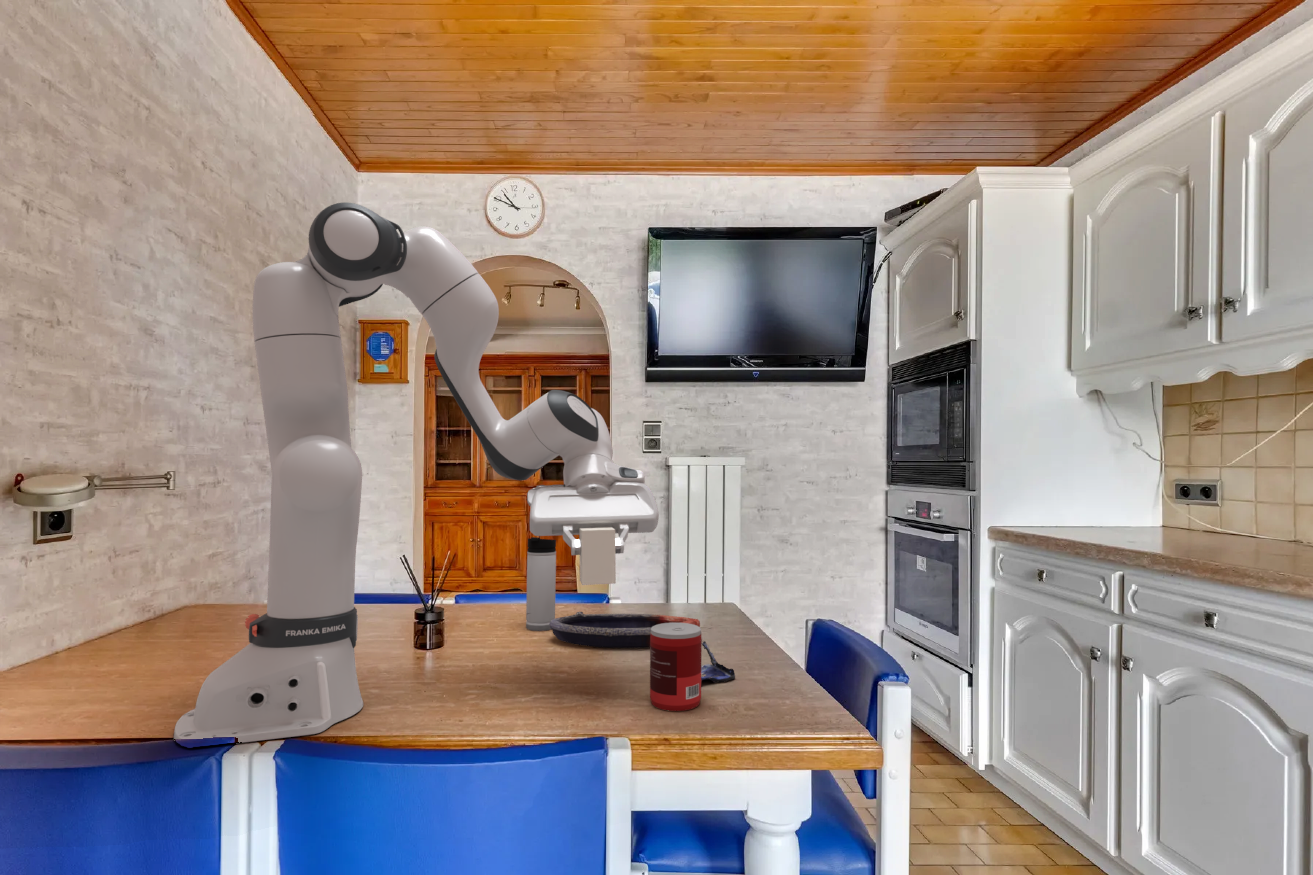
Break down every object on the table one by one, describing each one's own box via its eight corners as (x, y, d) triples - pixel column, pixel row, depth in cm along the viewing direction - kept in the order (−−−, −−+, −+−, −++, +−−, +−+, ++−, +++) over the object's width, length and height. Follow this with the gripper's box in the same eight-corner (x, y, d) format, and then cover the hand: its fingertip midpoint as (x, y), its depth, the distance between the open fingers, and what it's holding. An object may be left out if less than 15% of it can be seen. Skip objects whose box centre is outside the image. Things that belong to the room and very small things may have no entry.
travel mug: (519, 630, 145) (521, 537, 146) (535, 623, 151) (536, 534, 152) (545, 632, 143) (546, 538, 144) (559, 626, 149) (561, 535, 150)
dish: (556, 632, 145) (556, 608, 145) (698, 634, 144) (698, 610, 144) (541, 651, 129) (542, 624, 130) (701, 653, 128) (701, 627, 129)
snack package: (725, 667, 120) (661, 666, 120) (728, 632, 120) (662, 631, 119) (738, 701, 109) (666, 700, 108) (741, 663, 108) (668, 662, 107)
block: (615, 583, 100) (615, 529, 100) (582, 585, 99) (581, 530, 99) (612, 579, 104) (611, 527, 104) (579, 580, 103) (579, 528, 103)
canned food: (702, 694, 104) (702, 622, 104) (700, 713, 96) (700, 635, 96) (652, 692, 105) (653, 621, 105) (647, 710, 97) (647, 633, 97)
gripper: (527, 472, 107) (527, 540, 97) (652, 470, 111) (666, 536, 101) (526, 499, 111) (527, 567, 101) (648, 496, 115) (660, 562, 105)
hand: (598, 551), depth 101 cm, fingers closed on block, 5 cm apart
